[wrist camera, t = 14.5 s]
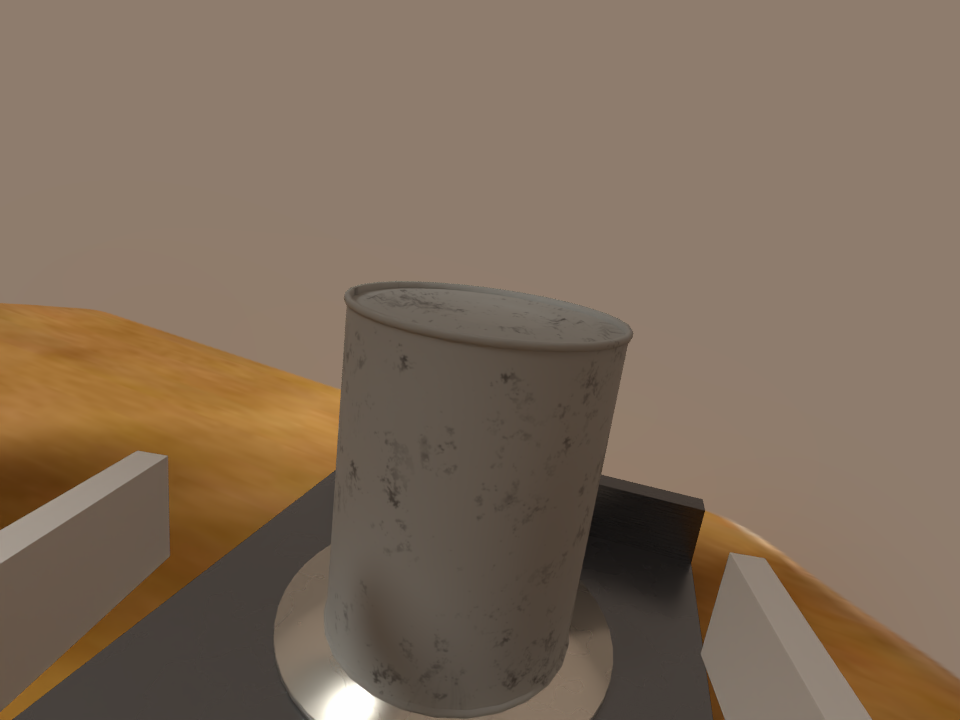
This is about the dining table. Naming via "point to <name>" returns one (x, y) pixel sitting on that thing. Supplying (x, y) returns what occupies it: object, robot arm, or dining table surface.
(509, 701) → the speckled tin can
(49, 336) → the dining table surface
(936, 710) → the dining table surface
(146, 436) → the dining table surface
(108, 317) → the dining table surface
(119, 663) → the plate
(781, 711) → the robot arm
